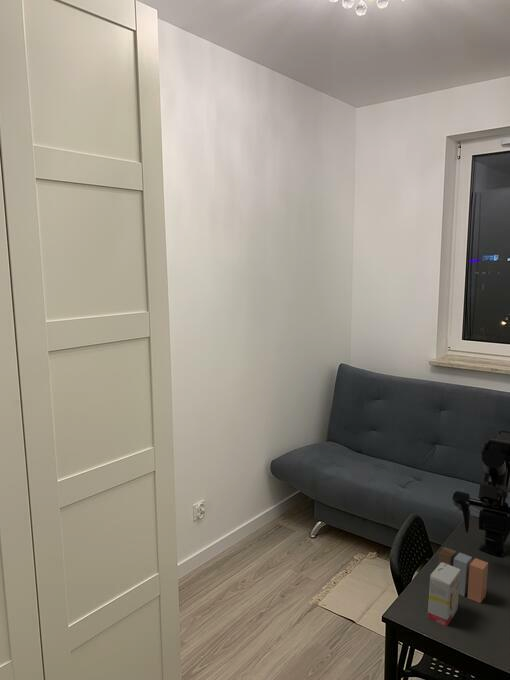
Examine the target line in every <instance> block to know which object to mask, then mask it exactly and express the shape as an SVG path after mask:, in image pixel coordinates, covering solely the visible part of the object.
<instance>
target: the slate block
mask: <svg viewBox="0 0 510 680" xmlns="http://www.w3.org/2000/svg"><path fill="white" fill-rule="evenodd" d="M472 561H473V558H472V556H470V555H468V554H465V553H462V552H458V554H456V557H455V558H454V563H453V567H456V568H458V569H461V572H460V583H459V596H462V597H465V596H466V595H468V583H469V569H470V564H471V563H472Z"/></svg>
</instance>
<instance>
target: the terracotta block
mask: <svg viewBox="0 0 510 680" xmlns="http://www.w3.org/2000/svg"><path fill="white" fill-rule="evenodd" d="M488 570H489V562H487V561H484V560H482V559H479V558H477V557H475V558H474V559H472V563H471V564H470V569H469V583H468V592H467V597H466V598H467V599H469V600H472V601H474V602H477V603H479V604H481V603H482V602H483V600H484V599H485V598H486V594H487V585H488V583H487V582H488V573H489V571H488Z"/></svg>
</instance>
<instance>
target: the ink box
mask: <svg viewBox="0 0 510 680" xmlns="http://www.w3.org/2000/svg"><path fill="white" fill-rule="evenodd" d="M460 572H461V569H458V568H456V567H453V566H451V565H448V564H446V563H440V564H439V565H438V564H437V567H436V568H435V569H434V570H433V571H432V573H430V577H429V578H430V579H429V591H428V592H429V593H428V605H427V606H428V607H427V619H429V620H430V621H433V622H434V623H435V622H436V623H438V624H439V625H443V626H446V627H447V626H448V625H449V624H450V623H451V621H452V619H453V618H454V616H455V614H456V612H457V611H458V608H459V596H460V595H459V583H460Z"/></svg>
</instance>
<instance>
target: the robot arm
mask: <svg viewBox="0 0 510 680" xmlns="http://www.w3.org/2000/svg"><path fill="white" fill-rule="evenodd" d="M481 462H482V465H483V470H484V474H483V479H482V483H481V484H479V489H478V490H479V491H478V495H477V497H478V499H477V498H476V499H475V498H471V495H470V493H468V492H464V491H463V492H462V491H460V490H459V491H458V490H456V491H455V492H453V494H452V502H453V505H454V506H455V507H457V509H458V510H459V511H461V512H462V514H463V515H462V516H463V522H464V528H465V529H464V531H465V533H466V534H468V533H469V530H470V520H471V519H470V516H471V510H470V507H475V508H476V507H477V508H481V509H480V510H479V515H478V531H479V530H480V531H483V543H482V544H481V545H480V546H479V547H478V549H479V550H480V551H482V552H484V553H488V554H491V555H493V556H497V557H499V558H502V557H503V556H504V555H505V554H506V552H507V551H508V547H507V546H505V544H506V542H507V541H508V539H509V538H510V507H509V504H508V502H507V499H508V497H509V489H510V431H509V430H503V429H502V430H499V431H498V435H497V436H496V437H495V438H489V439H488V440H487V442H485V443H484V446H483V448H482V451H481Z"/></svg>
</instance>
